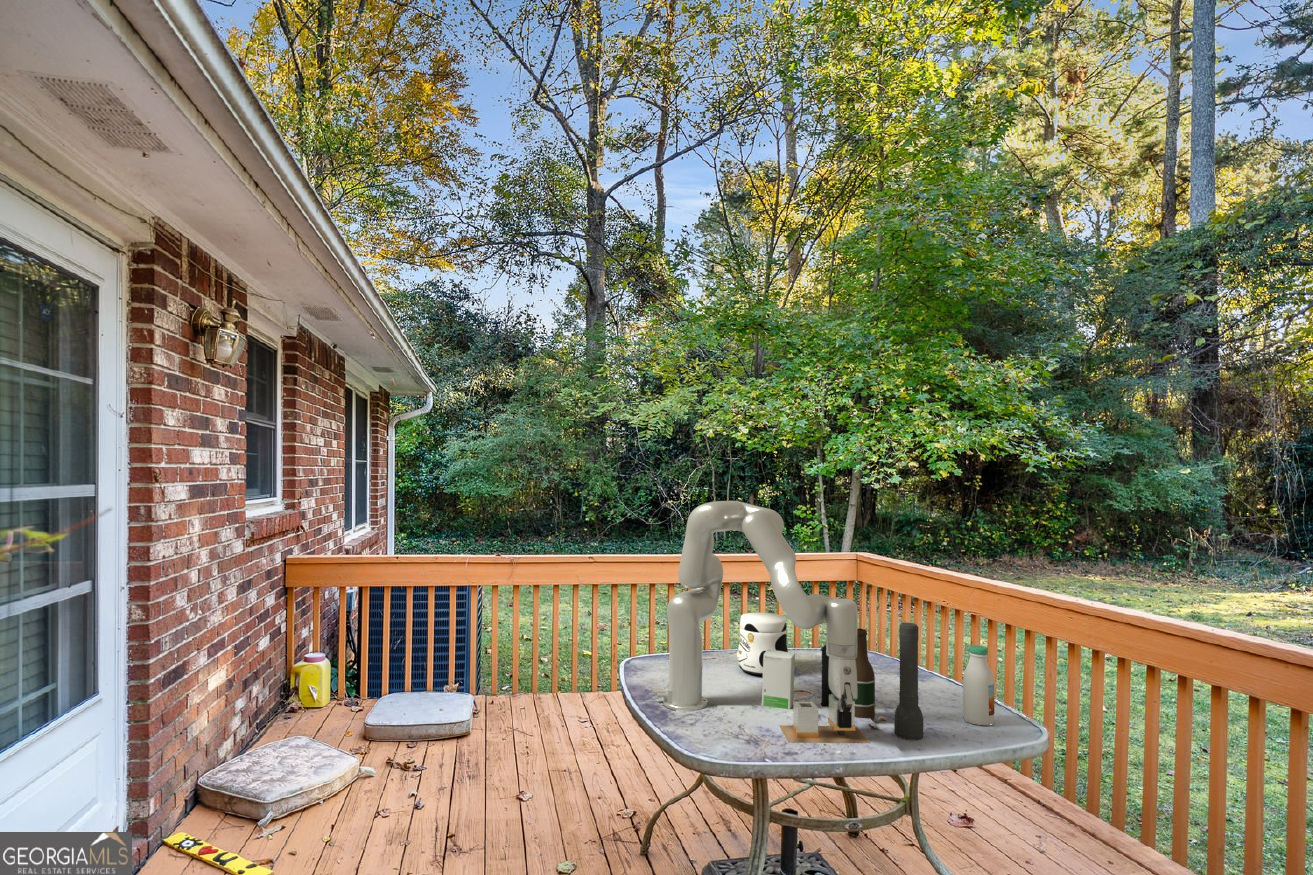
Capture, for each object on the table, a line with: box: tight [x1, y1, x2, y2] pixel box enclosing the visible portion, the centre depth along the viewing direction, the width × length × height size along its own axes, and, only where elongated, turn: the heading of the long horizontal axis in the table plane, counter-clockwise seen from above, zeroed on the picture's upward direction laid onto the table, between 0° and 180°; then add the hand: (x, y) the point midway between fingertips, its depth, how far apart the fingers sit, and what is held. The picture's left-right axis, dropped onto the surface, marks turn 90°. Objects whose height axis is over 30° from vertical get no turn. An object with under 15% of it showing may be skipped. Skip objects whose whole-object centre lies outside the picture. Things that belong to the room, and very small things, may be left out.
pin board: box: [779, 724, 871, 744], centre depth 171 cm, size 20×11×6 cm, turn 91°
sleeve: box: [827, 695, 856, 731], centre depth 171 cm, size 5×5×7 cm
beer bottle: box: [852, 627, 876, 722], centre depth 187 cm, size 8×8×24 cm
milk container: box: [736, 611, 789, 676], centre depth 229 cm, size 17×17×18 cm
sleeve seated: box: [792, 701, 819, 738], centre depth 171 cm, size 5×5×7 cm
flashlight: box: [893, 622, 925, 741], centre depth 176 cm, size 7×28×7 cm
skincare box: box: [761, 649, 796, 710], centre depth 193 cm, size 8×7×16 cm
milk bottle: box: [962, 644, 996, 726], centre depth 186 cm, size 8×8×20 cm
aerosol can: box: [820, 644, 832, 708], centre depth 197 cm, size 8×8×20 cm
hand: (841, 722), depth 171 cm, fingers closed on sleeve, 5 cm apart
